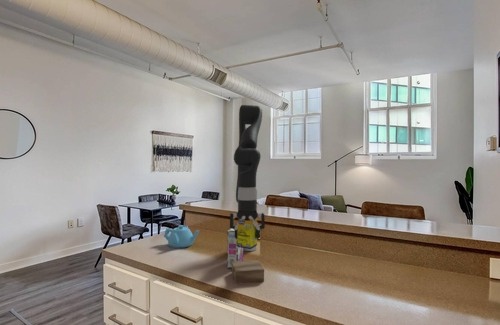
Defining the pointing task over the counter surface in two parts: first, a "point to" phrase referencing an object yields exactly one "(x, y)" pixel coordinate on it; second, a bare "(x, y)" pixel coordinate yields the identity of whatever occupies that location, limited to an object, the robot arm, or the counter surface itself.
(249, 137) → the robot arm
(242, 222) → the supplement box
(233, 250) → the candy bar box
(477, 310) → the counter surface
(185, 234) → the teapot
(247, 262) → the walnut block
